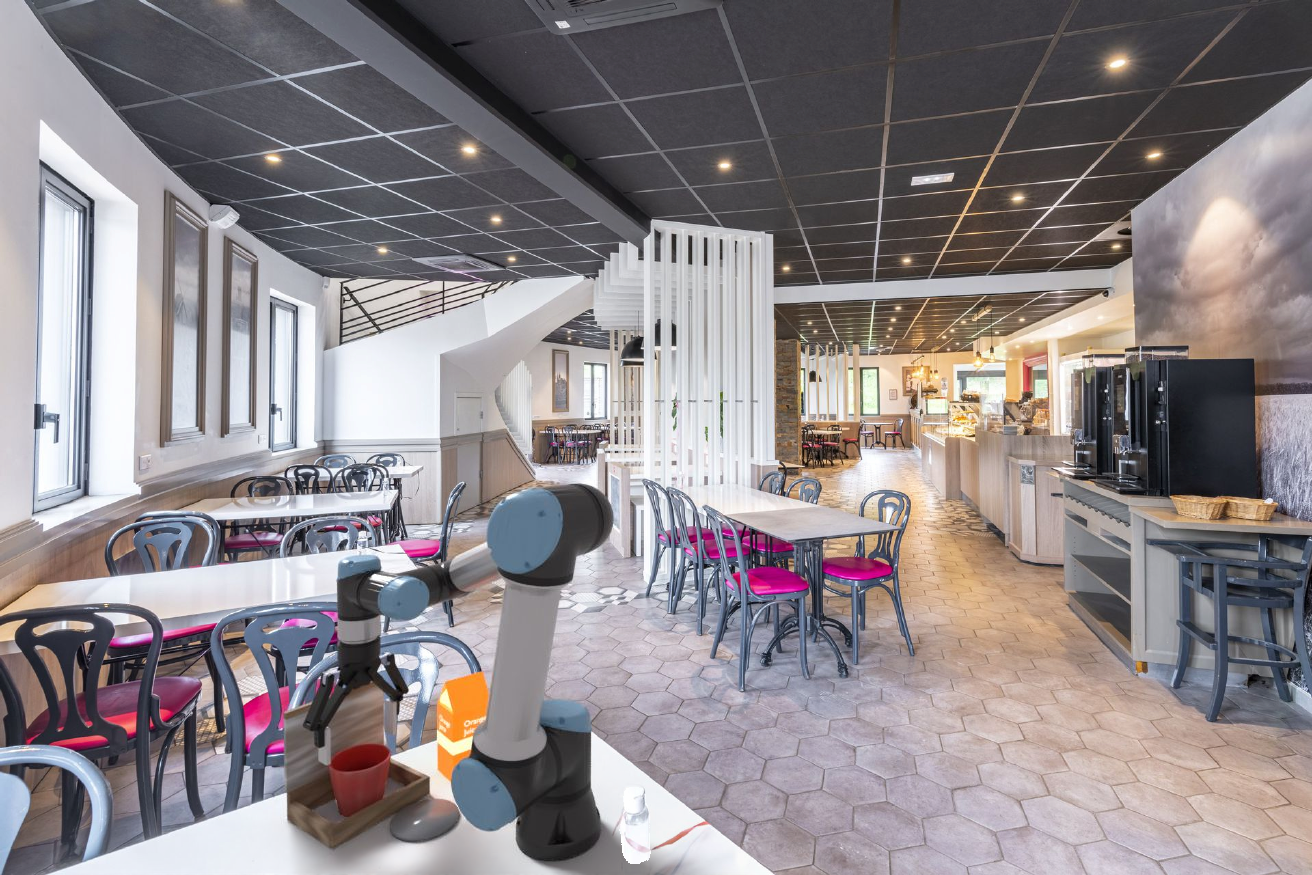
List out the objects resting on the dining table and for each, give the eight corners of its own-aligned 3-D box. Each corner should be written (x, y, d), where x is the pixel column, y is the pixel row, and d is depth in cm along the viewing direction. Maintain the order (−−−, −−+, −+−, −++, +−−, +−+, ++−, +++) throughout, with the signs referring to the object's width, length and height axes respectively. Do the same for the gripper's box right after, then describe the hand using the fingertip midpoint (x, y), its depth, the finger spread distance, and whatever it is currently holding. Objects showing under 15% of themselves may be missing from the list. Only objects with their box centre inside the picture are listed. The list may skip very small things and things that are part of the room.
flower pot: (368, 827, 119) (368, 774, 118) (316, 819, 121) (315, 768, 121) (402, 794, 129) (402, 746, 129) (353, 787, 131) (353, 740, 131)
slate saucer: (472, 815, 122) (472, 811, 122) (417, 850, 112) (417, 846, 112) (431, 794, 129) (431, 791, 129) (376, 826, 119) (376, 822, 119)
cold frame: (429, 793, 129) (429, 694, 129) (332, 849, 112) (331, 735, 112) (377, 767, 139) (376, 675, 138) (280, 815, 122) (279, 710, 121)
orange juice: (436, 769, 138) (436, 676, 138) (475, 755, 144) (475, 665, 144) (453, 784, 132) (452, 687, 132) (492, 769, 138) (492, 676, 138)
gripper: (404, 617, 136) (403, 716, 137) (281, 652, 116) (281, 769, 116) (427, 624, 132) (426, 726, 133) (304, 662, 112) (304, 783, 112)
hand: (359, 746), depth 125 cm, fingers open, 13 cm apart
